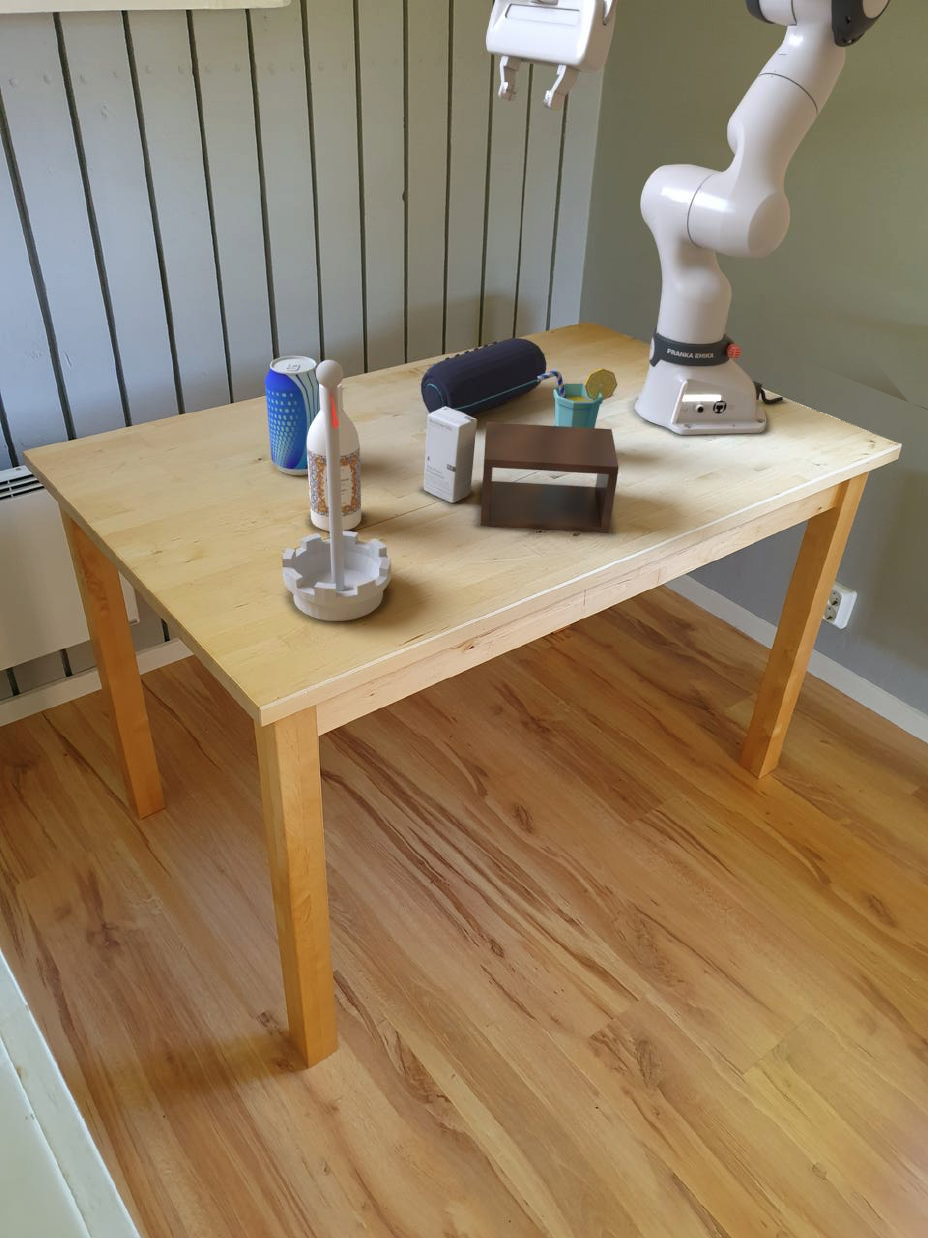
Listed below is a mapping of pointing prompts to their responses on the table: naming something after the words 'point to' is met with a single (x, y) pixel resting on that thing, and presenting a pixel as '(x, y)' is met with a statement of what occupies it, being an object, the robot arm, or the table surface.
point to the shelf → (549, 501)
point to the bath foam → (347, 468)
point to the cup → (581, 398)
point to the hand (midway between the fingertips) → (527, 103)
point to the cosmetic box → (449, 454)
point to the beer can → (291, 410)
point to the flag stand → (336, 541)
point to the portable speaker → (483, 376)
